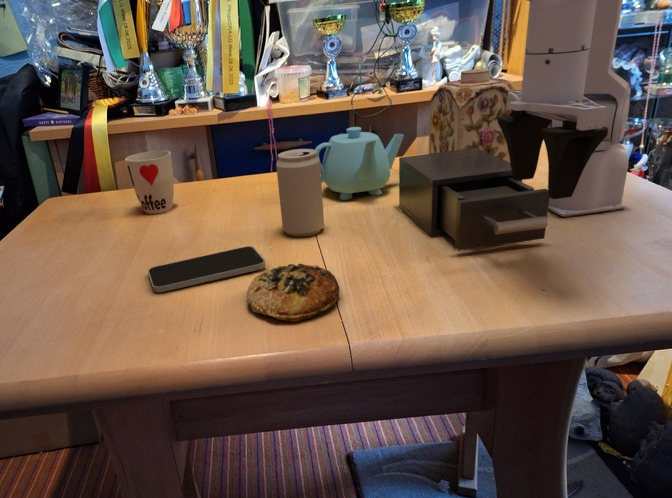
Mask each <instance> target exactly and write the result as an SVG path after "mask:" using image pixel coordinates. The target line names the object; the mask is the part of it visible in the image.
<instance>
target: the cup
mask: <svg viewBox="0 0 672 498" xmlns="http://www.w3.org/2000/svg"><path fill="white" fill-rule="evenodd" d="M124 161H125V165H126V169H127V172H128V176H129V177H130V179H129V180H130V182H131V185H132V187H133V190H134V192H135V193H134V194H135V196H136V197H137V201H138V202H139V203H140V206H141V207H142V210H143V211H144V212H145V213H146V214H149V215H150V214H151V215H154V214H155V215H156V214H163V213H165V212H168V211H171V210H172V208H173V204H174V203H173V202H174V193H175V191H174V190H175V189H174V187H175V186H174V171H173V162H172V161H173V160H172V154H171V151H169V150H151V151H143V152H138V153H134V154H131V155H129V156H126V157H125V158H124Z"/></svg>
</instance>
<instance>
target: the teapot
mask: <svg viewBox="0 0 672 498" xmlns="http://www.w3.org/2000/svg"><path fill="white" fill-rule="evenodd" d="M345 130H346V133H339V134H336V135H333V136H331V137H330V139H329V141H328V142H321V143H320V144H318V145H317V146H316V147H315V149H314V150H316V151H317V154H316V155H317V157H318V158H319V159H320V152H321V151H322V150H323V149H325V148H326V149H325V152H324V155H323V159H322V162H321V161H320V170H321V184H322V183H324V184H325V185H326V186H327V187H328V188H329V189H330V191H331V192H334V193H336V192H337V193H340V194H339V199H340V200H343V201H344V200H345V201H346V200H351V199H353V193H354V194H355V193H360V192H361V193H362V192H368V194H369V195H371V196H379V195H382V194H383V191H382V190H381V189H383V188H384V187H385V186H386V185H387V183H388V182H389V180H390V177H391V170H392V167H393V165H394V163H395V160H396V158H397V155H398V152H399V150H400V147H401V144H402V143H403V140H404V137H405V134H402V133H395V134H393V137H392V138H391V139H390V141H389V142H388V144H387V146H386V148H385V147H384V144H383V142H382V140H381V139H380V137H379V135H377V134H376V133H373V132H369V131H362V127H360V126H351V127H348V128H346V129H345Z"/></svg>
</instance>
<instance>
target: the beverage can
mask: <svg viewBox="0 0 672 498" xmlns="http://www.w3.org/2000/svg"><path fill="white" fill-rule="evenodd" d="M316 154H317V151H316V150H315V149H313V148H297V149H289V150H286V151H285V150H284V151H282V152H280V153H278V154H277V161H276V163H275V166H276V167H275V169H276V175H277V187H278V197H279V205H280V214H281V216H280V217H281V224H282V225H281V226H282V230H283V231H284V232H285V233H287V234H288V235H289V236H292V237H299V238H301V237H309V236H313V235H316V234H318V233H320V232H321V230H322V229H323V228H324V226H325V215H324V203H323V202H324V201H323V199H324V198H323V184H322V183H321V170H320V162H321V160H320V159H321V158H320V157H319V158H318V157H317V155H316Z"/></svg>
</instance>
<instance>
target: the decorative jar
mask: <svg viewBox="0 0 672 498" xmlns="http://www.w3.org/2000/svg"><path fill="white" fill-rule="evenodd" d="M514 91H518V90H517V89H516V87H515V86H514V84H513V82H512V80H509V79H503V78H498V77H497V78H496V77H494V78H493V77H490V69H488V68H476V69H475V68H474V69H464V70H461V72H460V79H458V80H453V81H452V80H451V81H448V82H444V83H443V84H440V85H439V86H438V87H437V89H436V90H435V92H434V93H433V94H432V96H431V97H430V107H429V129H428V130H429V131H428V132H429V133H428V154H431V153H439V152H447V151H454V150H462V149H470V148H478V149H481V150H483V151H485V152H487V153H490V154H492V155H494V156H496V157H498V158H501V159H503V160H505V161H507V162H510V157H509V152H508V147H507V143H506V140H505V137H504V135H503V132H502V130H501V128H500V126H499V124H498V117H500V116H507V115H510V113H512V111H509V110H506V106H507V94H508V92H514Z"/></svg>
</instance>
